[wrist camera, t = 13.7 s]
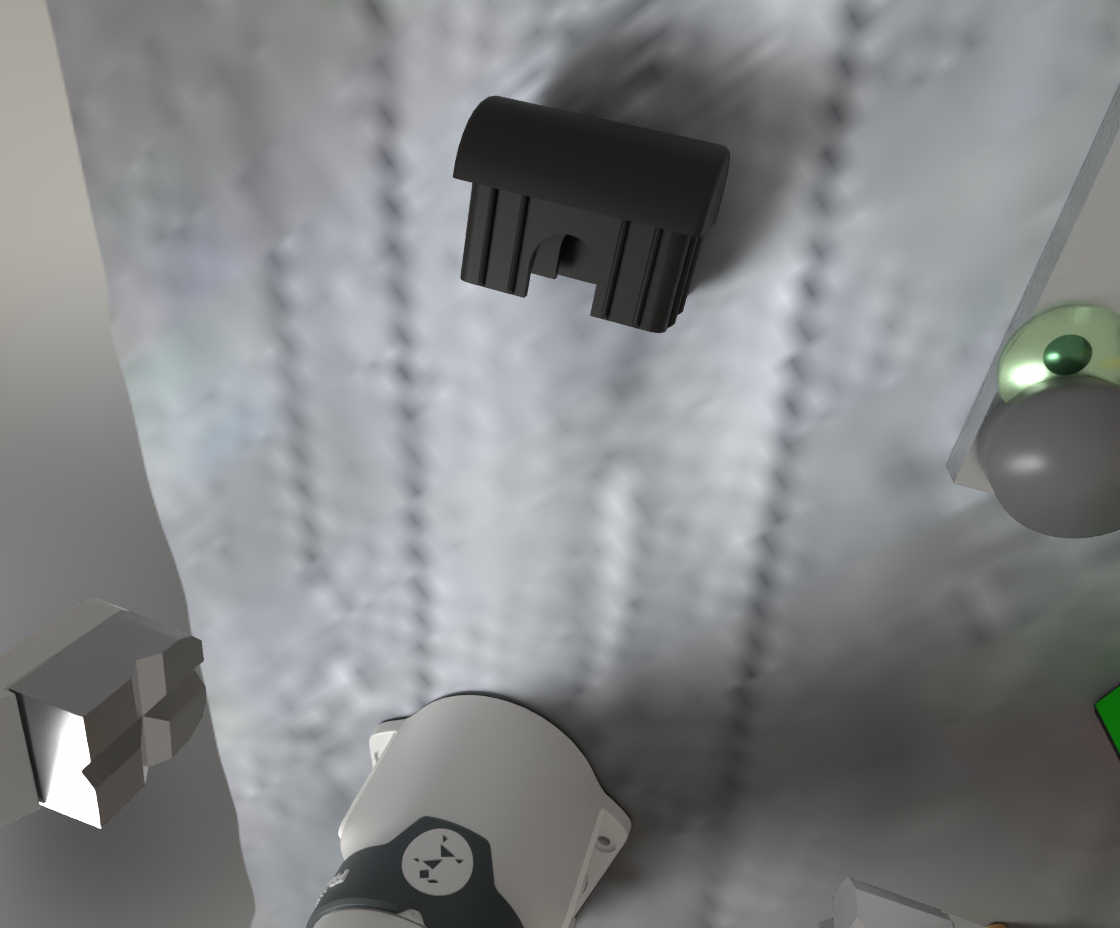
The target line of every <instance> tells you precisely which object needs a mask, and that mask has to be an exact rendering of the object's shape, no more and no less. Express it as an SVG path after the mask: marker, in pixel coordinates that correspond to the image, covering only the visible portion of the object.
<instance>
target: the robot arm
mask: <svg viewBox="0 0 1120 928" xmlns="http://www.w3.org/2000/svg"><path fill="white" fill-rule="evenodd" d="M203 661H204V657H203V649H202V641H201V640H199V639H197V638H195V637H193V636H191V635H189V634H186V633H184V632H181V631H179V630H176V629H174V628H171V627H169V626H166V625H164V624H161V623H159V622H156V621H154V620H151V619H149V618H146V617H144V616H141V615H139V614H136V613H134V612H132V611H128V610H126V609H123V608H121V607H118V606H116V605H113V604H110V603H108V602H105V601H103V600H100V599H93V600H88V601H83V602H81V603H79V604H78V605H76V606H74V607H73V608H71V609H70V610H68V611H67V612H65V613H64V614H62V615H61V616H59V617H57V618H56V619H54V620H53V621H51V622H50V623H48V624H47V625H46V626H44V627H42V628H41V629H39V630H37V631H36V632H35V633H33V634H31V635H30V636H28V637H27V638H25V639H24V640H22V641H21V642H19V643H18V644H16V645H14V646H13V647H11V648H10V649H8V650H7V651H5V652H4V653H2V654H1V655H0V828H1V827H3V826H5V825H8V824H10V823H12V822H14V821H16V820H18V819H20V818H22V817H24V816H26V815H28V814H31V813H33V812H35V811H37V810H39V809H40V804H41V805H43V806H46V807H48V808H51V809H53V810H56V811H58V812H61V813H63V814H66V815H68V816H71V817H73V818H76V819H78V820H81V821H83V822H86V823H89V824H91V825H93V826H96V827H98V828H102V827H103V826H104V825H105V824H106V823H107V822H108V821H109V820H110V819H111V818H112V817H113V816H114V815H115V814H116V813H117V812H118V811H119V810H120V809H121V808H122V807H123V806H124V805H125V804H126V803H127V802H129V801H130V799H132V797H134V795H136V794H137V793H138V791H140V789H142V788H143V787H144V786H145V782H146V776H147V771H148V767H150V766H152V765H155V764H158V763H160V762H163V761H165V760H168V759H171V758H173V757H174V756H175V755H176V754H177V752H178V751H179V750H180V749H181V748H182V747H183V746H184V745H185V744H186V743H187V742H188V741H189V740H190V738H191V736H192V735H193V733H194V731H195V730H196V728H197V726H198V724H199V723H200V721H201V719H202V716H203V712H204V708H205V704H206V687H205V685H204V684H203V682H202V680H201V679H200V678H199V676H198V674H197V673H196V671H195V669H196V668H197V667H198V666H199V665H200V664H201V663H202V662H203ZM369 746H370V752H371V758H372V764H373V769H372V771H371V773H370V774H369V776H368V778H367V780H366V781H365V783H364V785H363V786H362V788H361V790H360V792H359V793H358V795H357V797H356V799H355V800H354V802H353V804H352V806H351V807H350V809H349V811H348V813H347V814H346V816H345V818H344V820H343V821H342V823H341V826H340V828H339V832H338V835H339V837H340V838H341V851H342V855H343V857H344V859H345V861H344V862H343V863H342V865H341V866H340V868H339V870H338V871H337V873H336V874H335V876H334V877H333V878H332V880H331V881H330V882H329V883H328V884H327V886H326V887H325V889H324V891H323V892H322V894H321V896H320V897H319V899H318V901H317V904H316V907H315V910H314V912H313V913H312V915H311V917H310V919H309V921H308V923H307V926H306V928H574V926H575V922H576V918H575V917H574V916H575V915H576V913H577V912H578V911H579V909H580V908H581V906H582V905H583V903H584V902H585V900H586V899H587V897H588V896H589V895H590V893H591V892H592V890H593V889H594V887H595V886H596V884H597V883H598V881H599V880H600V879H601V877H602V876H603V874H604V873H605V871H606V870H607V868H608V867H609V865H610V864H611V863H612V861H613V860H614V858H615V857H616V855H617V854H618V852H619V851H620V849H621V848H622V847H623V845H624V844H625V842H626V840H627V838H628V835H629V833H630V830H631V821H630V819H629V817H628V816H627V815H626V813H625V812H624V811H623V810H622V809H621V808H620V807H619V806H618V805H617V804H616V803H615V802H614V801H613V800H612V799H611V798H610V797H609V796H607V795H606V794H605V793H604V791H603V790H602V788H601V786H600V785H599V783H598V781H597V779H596V777H595V775H594V772H593V770H592V768H591V767H590V765H589V763H588V761H587V760H586V758H585V757H584V755H583V754H582V753H581V752H580V750H579V749H578V748H577V747H576V745H575V744H574V743H573V742H572V741H571V740H570V739H569V738H568V737H567V736H566V735H565V734H564V733H562V732H561V731H560V730H559V729H558V728H556V727H555V726H554V725H552V724H551V723H550V722H548V721H547V720H545V719H544V718H542V717H540V716H539V715H537V714H535V713H533V712H531V711H529V710H527V709H525V708H523V707H521V706H518V705H516V704H513V703H510V702H507V701H504V700H500V699H497V698H492V697H486V696H478V695H459V696H451V697H446V698H443V699H440V700H437V701H434V702H432V703H430V704H428V705H427V706H425V707H423V708H422V709H421V710H419V711H418V712H417V713H415V714H414V715H413V716H411V717H409V718H407V719H402V720H395V721H388V722H384V723H381V724H379V725H377V726H376V727H375V729H374V731H373V733H372V735H371V737H370V739H369ZM833 911H834V917H833V918H830V919H827V920H824V921H821V922H819V924H818V926H817V928H987V927H984V926H981V925H979V924H976V923H973V922H970V921H968V920H965V919H962V918H960V917H957V916H954V915H951V914H949V913H943V912H942V911H941V910H940V909H937V908H934V907H931V906H929V905H926V904H923V903H920V902H917V901H915V900H912V899H909V898H906V897H903V896H901V895H898V894H895V893H892V892H889V891H886V890H884V889H881V888H878V887H875V886H872V885H870V884H867V883H864V882H861V881H858V880H856V879H853V878H850V877H848V878H847V879H845V880H844V881H843V882H841V884H840V885H839V887H838V889H837V891H836V893H835V894H834V896H833Z"/></svg>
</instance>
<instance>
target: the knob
mask: <svg viewBox="0 0 1120 928" xmlns="http://www.w3.org/2000/svg"><path fill="white" fill-rule="evenodd" d="M978 451H979V460H980V463H981V467H982V469H983V471H984V474H985V476H986V477H987V479H988V481H989V483H990V485H991V487H992V489H993V491H994V492H995V494H996V496H997V498H998V500H999V502H1000V503H1001V505H1002V506H1003V508H1004V509H1005V510H1006V511H1007V512H1008V514H1009V515H1010V516H1012V517H1013V518H1014V519H1015V520H1016V521H1018V522H1019V523H1021V524H1022V525H1024V526H1025V527H1027V528H1029V529H1032V530H1034V531H1036V532H1039V533H1042V534H1045V535H1050V536H1054V537H1061V538H1087V537H1094V536H1100V535H1104V534H1107V533H1111V532H1114V531H1117V530H1119V529H1120V386H1119V385H1117V384H1115V383H1112V382H1109V381H1106V380H1103V379H1098V378H1092V377H1080V376H1077V377H1064V378H1057V379H1053V380H1049V381H1045V382H1042V383H1039V384H1037V385H1034V386H1032V387H1030V388H1028V389H1026V390H1024V391H1022V392H1021V393H1019V394H1018V395H1016V396H1014V397H1013V398H1012V399H1011V400H1009V401H1008V402H1007V403H1006V402H1005V401H1004V399H1003V400H1002V401H1001V402H1000V403H999V404H998V405H997V406H996V407H995V408H994V409H993V411H992V412H991V413H990V415H989V416H988V418H987V420H986V422H985V424H984V426H983V428H982V431H981V434H980V439H979V448H978Z"/></svg>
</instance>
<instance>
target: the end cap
mask: <svg viewBox="0 0 1120 928" xmlns="http://www.w3.org/2000/svg"><path fill="white" fill-rule="evenodd" d="M729 161H730V152H729V150H728V149H727V148H726V147H725V146H722V145H718V144H713V143H709V142H704V141H700V140H695V139H691V138H686V137H682V136H677V135H672V134H668V133H663V132H659V131H654V130H650V129H645V128H641V127H636V126H632V125H627V124H623V123H618V122H614V121H609V120H605V119H600V118H595V117H591V116H586V115H582V114H577V113H573V112H568V111H564V110H559V109H555V108H550V107H546V106H541V105H537V104H532V103H527V102H523V101H518V100H514V99H509V98H505V97H500V96H491V97H488V98H486V99H485V100H483V101H482V102H481V103H480V104H479V105H478V106H477V107H476V109H475V110H474V111H473V113H472V115H471V117H470V118H469V120H468V123H467V125H466V127H465V130H464V132H463V135H462V138H461V141H460V144H459V147H458V152H457V156H456V160H455V166H454V173H453V178H456V179H460V180H464V181H468V182H472V191H471V199H470V207H469V215H468V222H467V230H466V238H465V246H464V254H463V261H462V269H461V277H460V278H461V280H463V281H465V282H468V283H471V284H475V285H479V286H482V287H486V288H490V289H493V290H497V291H501V292H504V293H508V294H512V295H516V296H519V297H523V298H524V297H525V296H527V292H528V286H529V281H530V275H531V273H533V274H537V275H540V276H544V277H548V278H552V279H555V278H557V275H562V276H566V277H570V278H574V279H577V280H581V281H585V282H589V283H593V284H597V285H596V290H595V295H594V300H593V304H592V309H591V314H590V316H593V317H597V318H601V319H605V320H608V321H612V322H616V323H619V324H623V325H627V326H630V327H634V328H638V329H642V330H645V331H649V332H655V333H663V332H665V331H666V330H667V328H669V327H671V326H672V325H674V324H675V322H676V318H677V315H679V314H680V313H682V312H683V309H684V305H685V302H686V298H687V294H688V290H689V287H690V283H691V279H692V276H693V272H694V268H695V264H696V261H697V257H698V253H699V250H700V246H701V242H702V239H703V235H704V234H705V232H706V231H707V230H708V229H709V228H710V227H711V226H712V225H713V224H714V223H715V222H716V219H717V216H718V212H719V208H720V204H721V200H722V196H723V192H724V188H725V183H726V179H727V174H728V168H729Z"/></svg>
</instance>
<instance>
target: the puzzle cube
mask: <svg viewBox="0 0 1120 928" xmlns="http://www.w3.org/2000/svg"><path fill="white" fill-rule="evenodd" d="M1094 707H1095V713H1096V715H1097V717H1098V719H1099V721H1100V723H1101V725H1102V727H1103V729H1104V731H1105V733H1106V735H1107V737H1108V739H1109V741H1110V743H1111V745H1112V747H1113V749H1114V751H1115V753H1116V755H1117V757H1118V759H1119V760H1120V685H1119V686H1118V687H1117V688H1116V689H1114V690H1113V691H1112V692H1110V693H1109V694H1108V695H1106V696H1105V697H1104V698H1102V699H1101V700H1100V701H1098V702H1097V703H1096V704H1094Z"/></svg>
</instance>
